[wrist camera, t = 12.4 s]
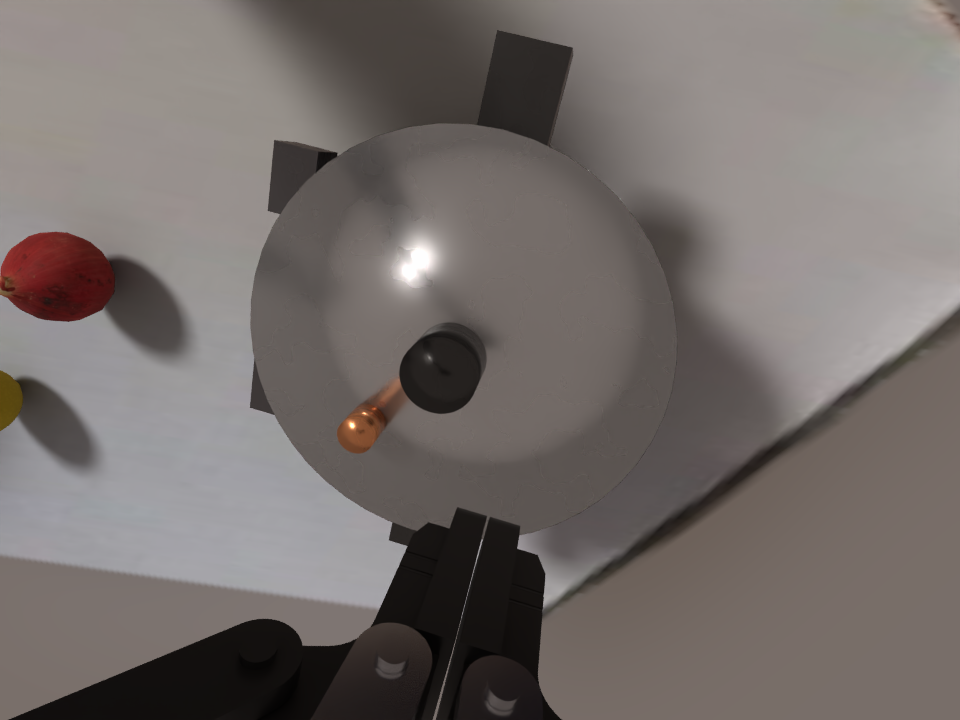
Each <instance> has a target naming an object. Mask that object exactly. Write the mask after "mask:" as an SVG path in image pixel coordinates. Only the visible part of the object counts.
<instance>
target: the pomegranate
mask: <svg viewBox="0 0 960 720" xmlns="http://www.w3.org/2000/svg"><path fill="white" fill-rule="evenodd" d="M114 287H115V276H114V273H113V270H112V267H111V264H110V263H109V262H108V260H107V259H106V257H105V256H104V254H103V253H102V252H101V251H100V250H99V249H98V248H97V247H96V246H94V245H93V244H92V243H91V242H89V241H87V240H85V239H83V238H80V237H77V236H75V235H72V234H69V233H63V232H48V233H38V234H35V235H32V236H29V237H27V238H26V239H24V240H23V241H22V242H20V243H19V244H17V245H16V246H14V247H13V248H12V249H11V250H10V251H9V252H8V254H7V256H6V258H5V260H4V262H3V264H2V266H1V276H0V295H2V296H4V297H7V298H8V299H9V300H10V301H11V302H12V303H13V304H14V305H15V306H16V307H18V308H19V309H20V310H22V311H24V312H26V313H29V314H31V315H33V316H35V317H37V318H40V319H44V320H52V321H67V322H69V321H76V320H80V319H83V318H85V317H87V316H90V315H92V314H94V313H96V312H98V311H100V310H102V309H103V308H104V306H105V305H106V304H107V302H108V301H109V299H110V298H111V296H112V295H113V293H114Z"/></svg>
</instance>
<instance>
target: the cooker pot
mask: <svg viewBox="0 0 960 720" xmlns="http://www.w3.org/2000/svg"><path fill="white" fill-rule="evenodd" d="M572 57H573V48H571V47H567V46H563V45H558V44H554V43H550V42H546V41H541V40H537V39H533V38H528V37H524V36H520V35H516V34H511V33H507V32H503V31H498V30H497V35H496V39H495V44H494V49H493V53H492V58H491V63H490V67H489V72H488V77H487V82H486V86H485V91H484V96H483V100H482V105H481V110H480V114H479V119H478V124H477V125H479V126H485V127H491V128H497V129H502V130H506V131H509V132H512V133H515V134H518V135H521V136H524V137H528V138H531V139H534V140H536V141H538V142H540V143H542V144H544V145H546V146H548V147H549V146H550V142H551V138H552V134H553V131H554V127H555V123H556V119H557V115H558V111H559V107H560V104H561V100H562V96H563V92H564V88H565V84H566V81H567V77H568V73H569V69H570V65H571V61H572ZM336 157H337V153H336V152H332V151H329V150H325V149H321V148H317V147H313V146H309V145H305V144H301V143H297V142H288V141H278V140H274V149H273V160H272V171H271V182H270V193H269V204H268V211H271V212H274V213H278V214H281V213H282V211H283V209H284V208H285V206H286V205H287V203H288V202H289V201H290V199H291V198H292V197H293V196H294V195H295V194H296V192H297V191H298V190H299V189H300V188H301V187H302V185H303V184H304V183H305V182H306V181H307V180H308V179H309V178H310V177H312V176H313V175H314V174H315V173H316V172H317V171H319V170H320V169H321V168H322V167H323V166H324V165H326V164H327V163H328V162H329V161H331V160H333V159H334V158H336ZM250 408H253V409H257V410H260V411H263V412H267V413H270V414H273V415H275V414H274V412H273V410H272V408H271V406H270V404H269V402H268V400H267V397H266V395H265V392H264V389H263V386H262V384H261V381H260V378H259V375H258V370H257V366H256V362H255V359H254V370H253V381H252V392H251V403H250ZM415 532H416V530H412V529H409V528H407V527H404V526H401V525H398V524H396V523H392V528H391V532H390V537H389V540H390V541H393V542H396V543H400V544H403V545H406V546H408V544H409V542H410V540H411V538H412V535H413V534H414V533H415Z"/></svg>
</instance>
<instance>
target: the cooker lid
mask: <svg viewBox="0 0 960 720" xmlns="http://www.w3.org/2000/svg"><path fill="white" fill-rule="evenodd" d="M251 336H252V345H253V353H254V357H255V362H256V366H257V370H258V375H259V378H260V381H261V384H262V386H263V389H264V392H265V395H266V397H267V400H268V402H269V404H270V406H271V408H272V410H273V412H274V414H275V416H276V418H277V420H278V422H279V424H280V426H281V427H282V429H283V430H284V432H285V433H286V435H287V437H288V438H289V440H290V441H291V443H292V444H293V445H294V447H295V448H296V449H297V450H298V452H299V453H300V454H301V455H302V457H303V458H304V459H305V460H306V461H307V463H308V464H309V465H310V466H311V467H312V468H313V469H314V470H315V471H316V472H317V473H318V474H319V475H320V476H321V477H322V478H323V479H324V480H325V481H326V482H328V483H329V484H330V485H332V486H333V487H334V488H335V489H337V490H338V491H339V492H340V493H342V494H343V495H344V496H345V497H347V498H348V499H350V500H352V501H353V502H355V503H356V504H358V505H359V506H361V507H363V508H364V509H366V510H368V511H370V512H372V513H374V514H376V515H378V516H380V517H382V518H384V519H386V520H388V521H390V522H393V523H396V524H398V525H401V526H404V527H407V528H409V529H412V530H416V531H418V530H419V529H420V528H421V527H423V526H424V525H425V524H427V523H428V522H430V523H433V524H436V525H439V526H443V527H446V528H450V525H451V523H452V520H453V517H454V514H455V511H456V509H457V507H459V508H463V509H466V510H469V511H473V512H476V513H479V514H483V515H486V516H487V519H486V523H485V527H484V531H483V535H482V538H481V539H484V535H485V532H486V528H487V525H488V521H489V518H490V517H493V518H496V519H500V520H503V521H506V522H510V523H513V524H516V525H520V533H519V535H522V534H527V533H532V532H535V531H538V530H541V529H544V528H547V527H550V526H553V525H556V524H558V523H560V522H562V521H565V520H567V519H569V518H571V517H573V516H575V515H577V514H579V513H581V512H582V511H584V510H585V509H587V508H588V507H590V506H591V505H593V504H595V503H596V502H598V501H599V500H601V499H602V498H603V497H604V496H605V495H606V494H608V493H609V492H610V491H611V490H612V489H613V488H615V487H616V486H617V485H618V484H619V483H620V482H621V481H622V480H623V479H624V478H625V477H626V476H627V475H628V473H629V472H630V471H631V470H632V469H633V468H634V467H635V466H636V464H637V463H638V462H639V460H640V459H641V457H642V456H643V454H644V453H645V451H646V450H647V448H648V447H649V445H650V444H651V442H652V440H653V438H654V436H655V434H656V432H657V430H658V428H659V426H660V424H661V422H662V420H663V418H664V415H665V411H666V408H667V405H668V402H669V399H670V396H671V392H672V388H673V382H674V376H675V370H676V363H677V329H676V321H675V314H674V306H673V301H672V298H671V294H670V291H669V287H668V283H667V280H666V276H665V273H664V271H663V269H662V267H661V264H660V262H659V260H658V257H657V255H656V253H655V250H654V248H653V246H652V244H651V243H650V241H649V240H648V238H647V236H646V235H645V233H644V231H643V230H642V228H641V227H640V225H639V223H638V222H637V220H636V219H635V218H634V216H633V215H632V214H631V213H630V212H629V210H628V209H627V208H626V207H625V206H624V204H623V203H622V202H621V201H620V200H619V198H618V197H617V196H616V195H615V194H614V193H613V192H612V191H611V190H610V189H609V188H608V187H606V186H605V185H604V184H603V183H602V182H601V181H600V180H599V179H598V178H597V177H595V176H594V175H593V174H592V173H591V172H589V171H588V170H587V169H585V168H584V167H582V166H581V165H579V164H578V163H576V162H575V161H573V160H572V159H570V158H569V157H567V156H566V155H564V154H563V153H561V152H558V151H556V150H554V149H552V148H550V147H548V146H546V145H544V144H542V143H540V142H538V141H536V140H534V139H531V138H528V137H524V136H521V135H518V134H515V133H512V132H509V131H506V130H502V129H497V128H491V127H485V126H479V125H473V124H446V123H439V124H430V125H422V126H414V127H407V128H404V129H400V130H396V131H393V132H389V133H385V134H382V135H379V136H376V137H374V138H372V139H369V140H367V141H365V142H363V143H360V144H358V145H356V146H354V147H352V148H350V149H348V150H347V151H345V152H344V153H342V154H341V155H339V156H337V157H336V158H334V159H333V160H331V161H329V162H328V163H327V164H326V165H324V166H323V167H322V168H321V169H320V170H319V171H317V172H316V173H315V174H314V175H313V176H312V177H310V178H309V179H308V180H307V181H306V182H305V183H304V184H303V185H302V187H301V188H300V189H299V190H298V191H297V192H296V194H295V195H294V196H293V197H292V198H291V199H290V201H289V202H288V203H287V205H286V206H285V208H284V209H283V211H282V213H281V214H280V216H279V217H278V219H277V220H276V222H275V224H274V225H273V227H272V229H271V232H270V234H269V236H268V238H267V241H266V243H265V245H264V247H263V249H262V253H261V256H260V260H259V263H258V266H257V270H256V273H255V278H254V285H253V291H252V298H251Z"/></svg>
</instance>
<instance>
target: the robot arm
mask: <svg viewBox="0 0 960 720" xmlns="http://www.w3.org/2000/svg"><path fill="white" fill-rule="evenodd" d="M486 519H487V516H486V515H483V514H479V513H476V512H473V511H469V510H466V509H463V508H459V507H457V509H456V511H455V514H454V517H453V520H452V523H451V525H450V528H446V527H443V526H439V525H436V524H433V523H430V522H428V523H427V524H425V525H424V526H423V527H421V528H420V529H419V530H418V531H416V532H415V533H414V534H413V535H412V538H411V540H410V542H409V544H408V547H407V549H406V552H405V554H404V556H403V558H402V560H401V562H400V565H399V568H398V569H397V571H396V574H395V576H394V578H393V580H392V583H391V585H390V587H389V589H388V592H387V594H386V596H385V598H384V600H383V603H382V605H381V607H380V609H379V612H378V614H377V616H376V619H375V620H374V622H373V624H372V626H371V627H370V628H368V629H367V630H365V631H364V632H363V633H362V634H361V635H360V636H359V637H358V638H357V639H355V640H353V641H351V642H348V643H345V644H342V645H336V646H302V642H301V639H300V637H299V635H298V634H297V633H296V631H295V630H294V629H293V628H291V627H290V626H289V625H287V624H285V623H283V622H280V621H277V620H272V619H257V620H251V621H248V622H244V623H241V624H239V625H237V626H234V627H232V628H229V629H227V630H225V631H222V632H220V633H217V634H215V635H212V636H210V637H208V638H205V639H203V640H200V641H198V642H195V643H193V644H191V645H188V646H186V647H183V648H181V649H179V650H176V651H174V652H171V653H169V654H167V655H164V656H162V657H159V658H157V659H154V660H152V661H150V662H147V663H145V664H142V665H140V666H137V667H135V668H133V669H130V670H128V671H125V672H123V673H121V674H118V675H116V676H113V677H111V678H108V679H106V680H104V681H101V682H99V683H96V684H94V685H91V686H89V687H87V688H84V689H82V690H79V691H77V692H74V693H72V694H70V695H68V696H65V697H62V698H60V699H58V700H55V701H53V702H50V703H48V704H45V705H43V706H41V707H39V708H36V709H33V710H31V711H28V712H26V713H24V714H21V715H19V716H16V717H14V718H12V719H9V720H432V719H433V716H434V713H435V709H436V706H437V702H438V699H439V695H440V692H441V688H442V685H443V681H444V678H445V674H446V671H447V668H448V664H449V661H450V657H451V654H452V650H453V647H454V643H455V640H456V643H455V647H454V651H453V655H452V658H451V662H450V666H449V670H448V674H447V678H446V682H445V686H444V690H443V694H442V698H441V701H440V705H439V709H438V714H437V717H436V720H561V719H560V718H559V717H558V716H557V715H556V714H555V713H554V711H553V710H552V709H551V708H550V707H549V705H548V703H547V702H546V700H545V699H544V696H543V695H542V692H541V689H540V686H539V681H538V663H539V650H540V637H541V624H542V609H543V599H544V597H543V595H544V586H545V572H544V570H543V567H542V565H541V562H540V560H539V557H538V555H535V554H532V553H529V552H526V551H522V550H519V549H517V546H518V540H519V533H520V525H516V524H513V523H510V522H506V521H503V520H500V519H496V518H493V517H490V518H489V521H488V525H487V528H486V532H485V535H484V539H483V542H482V546H481V549H480V552H479V556H478V559H477V563H476V566H475V562H476V558H477V554H478V550H479V546H480V542H481V538H482V535H483V531H484V527H485V523H486ZM474 566H475V570H474ZM473 570H474V573H473ZM472 573H473V577H472ZM471 577H472V581H471ZM470 581H471V584H470ZM469 585H470V588H469ZM468 589H469V592H468ZM467 593H468V596H467ZM466 597H467V600H466ZM465 601H466V604H465ZM464 605H465V607H464ZM463 609H464V611H463ZM462 612H463V615H462ZM461 616H462V619H461ZM460 620H461V623H460ZM459 624H460V627H459ZM458 628H459V631H458ZM457 631H458V635H457ZM456 636H457V639H456Z"/></svg>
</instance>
